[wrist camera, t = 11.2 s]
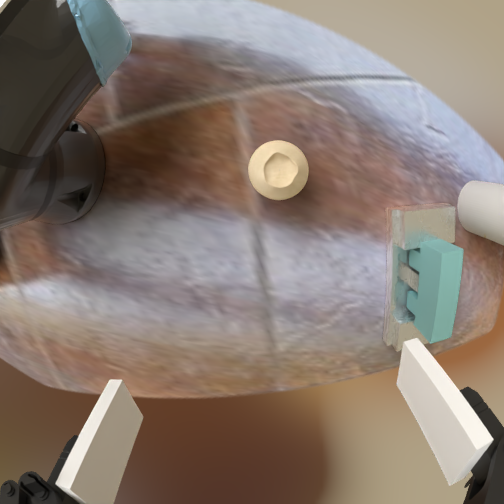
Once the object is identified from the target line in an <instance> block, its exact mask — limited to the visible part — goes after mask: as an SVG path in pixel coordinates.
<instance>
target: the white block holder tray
mask: <svg viewBox="0 0 504 504" xmlns="http://www.w3.org/2000/svg"><path fill="white" fill-rule="evenodd" d="M385 214H386V296H385V314H384V327H383V338H382V339H383V340H384V342H385V343H386V345H387V346H388V345H392V346H393V347H394V349H395V350H396V352H398V351H402V348H403V342H405V341H408V340H411V339H414V338H418V339H419V340H420V342H421V343H422V344H423V345H424V344H427V343H429V342H428V341H427V339H426V338H425V337H424V336H423V335H422V334H421V333H420V331H419V330H418V329H417V328H416V327H415V326H414V323H415V315H414V314H413V313H412V312H411V311H410V310H409V309H408V308H407V307H406V306H407V294H408V291H412V290H415V291H416V292H417V293H418V286H419V272H418V271H417V270H416V269H414V268H413V267H411V266H410V265H409V254H410V249H415V248H420V246H421V242H425V241H432V240H439V239H442V240H445V241H447V242H449V243H453V242H455V207H454V206H451V204H447V203H432V204H420V205H409V206H398V207H388V208H385Z"/></svg>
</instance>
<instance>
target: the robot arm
mask: <svg viewBox="0 0 504 504" xmlns="http://www.w3.org/2000/svg"><path fill="white" fill-rule="evenodd" d="M131 48H132V39H131V36H130V33H129V32H128V30H127V28H126V27H125V25H124V24H123V22H122V21H121V19H120V18H119V16H118V15H117V14H116V12H115V11H114V10H113V8H112V7H111V6H110V5H109V3H108V2H107V1H106V0H0V231H1V230H4V229H7V228H10V227H13V226H16V225H19V224H22V223H25V222H27V221H31V220H35V221H40V222H45V223H50V224H64V223H68V222H71V221H74V220H76V219H78V218H80V217H82V216H83V215H84V214H86V213H87V212H88V211H89V210H90V208H91V207H92V206H93V204H94V203H95V201H96V200H97V198H98V196H99V193H100V191H101V188H102V184H103V180H104V174H105V157H104V151H103V147H102V144H101V141H100V139H99V137H98V135H97V134H96V132H95V131H94V130H93V129H92V127H90V126H89V125H88V124H87V123H85V122H83V121H80V120H76V119H74V118H75V117H76V116H77V115H78V113H79V112H80V111H81V110H82V108H83V107H84V106H85V105H86V104H87V102H88V101H89V100H90V99H91V98H92V97H93V95H94V94H95V93H96V92H97V91H98V90H99V89H100V88H101V86H102V87H104V85H105V84H106V82H107V79H108V78H109V77H110V75H111V74H112V73H113V72H114V71H115V70H116V69H117V68H118V66H119V65H120V64H121V63H122V62H123V61H124V60H125V59H126V58H127V56H128V55H129V53H130V51H131ZM397 386H398V388H399V390H400V391H401V393H402V395H403V397H404V399H405V400H406V402H407V404H408V406H409V408H410V409H411V411H412V413H413V415H414V417H415V419H416V421H417V422H418V424H419V426H420V428H421V430H422V432H423V434H424V436H425V437H426V439H427V441H428V443H429V445H430V447H431V449H432V451H433V453H434V455H435V457H436V459H437V461H438V463H439V465H440V467H441V469H442V471H443V473H444V476H445V477H446V480H447V482H448V484H449V486H450V485H452V484H454V483H456V482H458V481H459V480H461V479H463V478H465V477H466V476H467V474H468V473H469V472H470V471H471V472H472V473H473V476H472V477H471V478H470V480H469V481H468V482H467V483H466V485H465V488H466V487H467V486H468V485H469V484H470V485H469V488H468V491H467V494H466V497H465V500H464V503H463V504H504V427H503V426H502V424H501V423H500V422H499V420H498V419H497V417H496V416H495V415H494V414H493V412H492V411H491V409H490V408H488V406H487V404H486V403H485V402H484V401H483V399H482V398H481V396H480V395H479V394H478V393H477V392H476V391H474V390H472V389H471V388H469V387H466V388H464V389H462V390H460V391H459V390H458V388H457V387H456V386H455V384H454V383H453V382H452V381H451V379H450V378H449V377H448V375H447V374H446V373H445V371H444V370H443V369H442V368H441V366H440V365H439V364H438V363H437V361H436V360H435V359H434V358H433V356H432V355H431V354H430V353H429V351H428V350H427V349H426V348H425V346H424V345H423V344H422V343H421V342H420V340H419V339H418V338H414V339H411V340H408V341H405V342H403V348H402V355H401V361H400V367H399V374H398V379H397ZM142 420H143V415H142V414H141V412H140V411H139V409H138V407H137V405H136V404H135V402H134V400H133V398H132V396H131V395H130V393H129V391H128V389H127V387H126V386H125V384H124V382H123V380H109V382H108V384H107V385H106V387H105V389H104V391H103V393H102V394H101V396H100V398H99V400H98V401H97V404H96V405H95V407H94V409H93V411H92V413H91V414H90V416H89V418H88V420H87V422H86V424H85V425H84V427H83V429H82V431H81V433H80V435H79V436H76V435H74V436H73V437H72V438H71V439H70V440H69V441H68V442H67V444H66V446H65V448H64V449H63V452H62V453H61V455H60V459H58V461H57V463H56V465H55V467H54V469H53V471H52V473H51V475H50V477H49V479H48V481H47V482H46V481H44V480H43V479H42V478H41V477H40V476H39V475H38V474H37V473H35V472H32V471H31V472H26V473H24V474H23V475H22V476H21V477H20V479H19V482H18V484H17V483H16V482H15V481H13V480H8V481H6V482H4V483H3V485H2V486H1V489H0V504H113V503H114V500H115V497H116V494H117V491H118V488H119V485H120V482H121V479H122V476H123V473H124V470H125V467H126V464H127V461H128V458H129V456H130V453H131V450H132V447H133V444H134V442H135V439H136V436H137V433H138V430H139V428H140V425H141V422H142Z"/></svg>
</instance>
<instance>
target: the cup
mask: <svg viewBox="0 0 504 504" xmlns="http://www.w3.org/2000/svg"><path fill="white" fill-rule="evenodd" d="M457 210H458V217H459V220H460V223H461V225H462V226H463V228H464V229H465V230H467V231H469V232H471V233H474V234H476V235H479V236H481V237H484V238H487V239H489V240H491V241H494V242H496V243H499V244H501V245H504V185H503V184H497V183H490V182H483V181H475V180H473V181H470V182H468V183H467V184H466V185H465V186H464V187H463V188H462V190H461V192H460V195H459V198H458V205H457Z"/></svg>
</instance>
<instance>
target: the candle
mask: <svg viewBox="0 0 504 504" xmlns="http://www.w3.org/2000/svg"><path fill="white" fill-rule="evenodd" d="M248 173H249V178H250V181H251V183H252V185H253V187H254V188H255V189H256V190H257V191H258V192H259V193H260V194H261V195H263V196H265V197H267V198H269V199H273V200H285V199H288V198H291V197H293V196H295V195H296V194H298V193H299V192H300V191H301V190H302V189H303V187H304V186H305V184H306V182H307V179H308V174H309V168H308V163H307V160H306V157H305V156H304V154H303V153H302V151H301V150H300V149H299V148H297V147H296V146H295V145H293V144H291V143H289V142H285V141H271V142H267V143H265V144H263V145H261V146H260V147H259V148H258V149H257V150H256V151H255V152H254V153H253V155H252V157H251V159H250V162H249V167H248Z"/></svg>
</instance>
